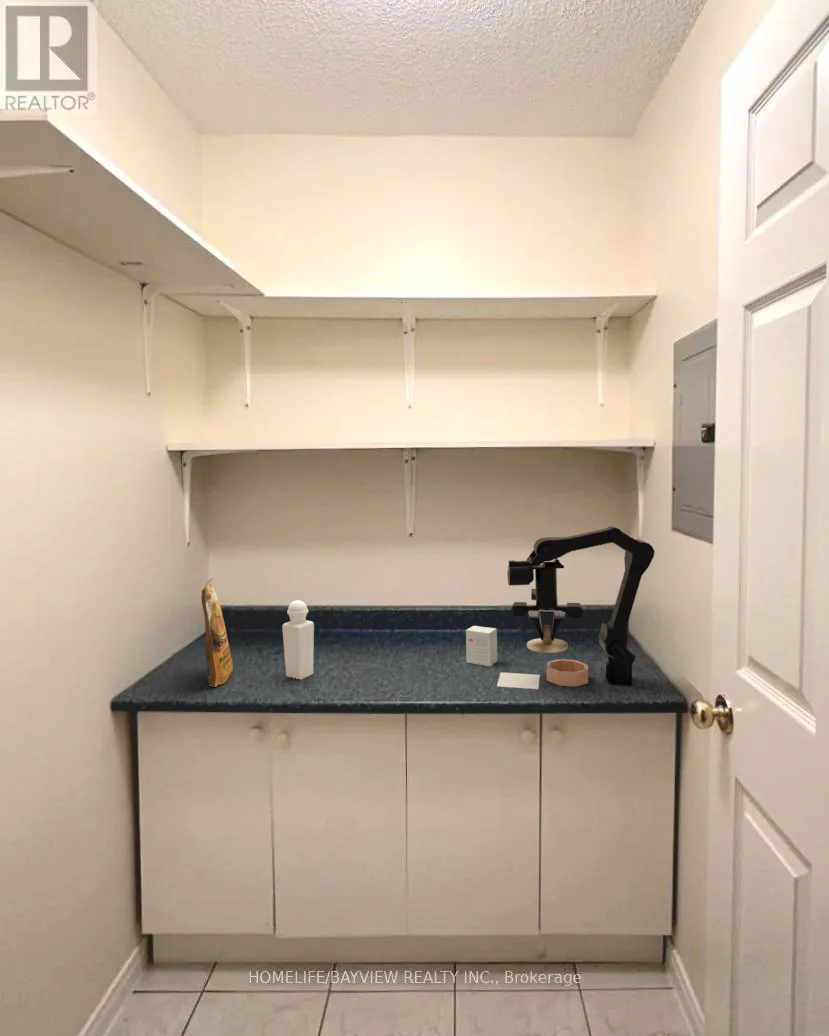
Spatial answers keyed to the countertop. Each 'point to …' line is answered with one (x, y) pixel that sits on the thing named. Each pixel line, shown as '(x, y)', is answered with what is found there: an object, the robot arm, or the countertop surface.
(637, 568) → the robot arm
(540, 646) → the lid
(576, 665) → the bowl
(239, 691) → the countertop surface
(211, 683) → the pancake mix bag
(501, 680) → the mat
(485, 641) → the small box
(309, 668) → the white square bottle
